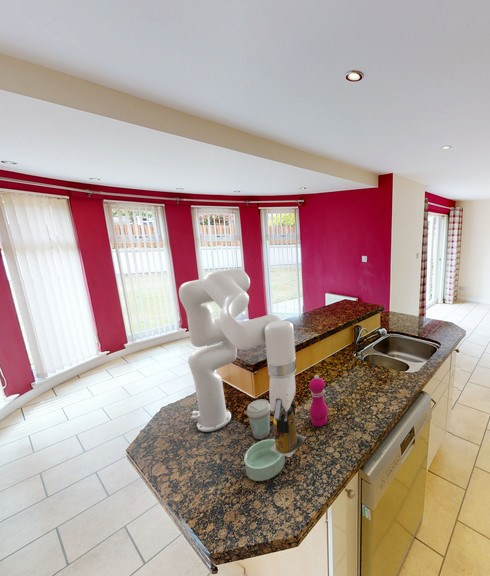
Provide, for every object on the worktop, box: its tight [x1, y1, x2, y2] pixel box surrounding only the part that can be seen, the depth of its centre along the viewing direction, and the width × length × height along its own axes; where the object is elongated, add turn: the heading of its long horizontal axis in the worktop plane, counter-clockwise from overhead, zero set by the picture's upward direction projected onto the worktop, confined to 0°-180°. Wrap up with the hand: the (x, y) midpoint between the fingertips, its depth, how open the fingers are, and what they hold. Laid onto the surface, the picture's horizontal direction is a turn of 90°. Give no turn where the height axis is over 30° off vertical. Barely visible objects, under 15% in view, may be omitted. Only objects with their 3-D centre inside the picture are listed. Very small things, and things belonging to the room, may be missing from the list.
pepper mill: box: [308, 374, 329, 427], centre depth 110 cm, size 7×7×20 cm
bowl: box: [243, 438, 286, 482], centre depth 91 cm, size 12×12×5 cm
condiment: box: [269, 406, 308, 458], centre depth 81 cm, size 7×8×12 cm
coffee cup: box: [246, 399, 271, 440], centre depth 105 cm, size 8×8×12 cm
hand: (286, 423), depth 80 cm, fingers closed on condiment, 6 cm apart
